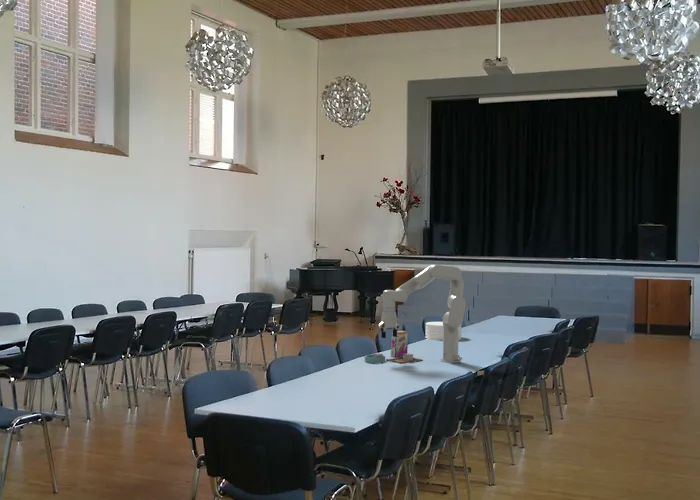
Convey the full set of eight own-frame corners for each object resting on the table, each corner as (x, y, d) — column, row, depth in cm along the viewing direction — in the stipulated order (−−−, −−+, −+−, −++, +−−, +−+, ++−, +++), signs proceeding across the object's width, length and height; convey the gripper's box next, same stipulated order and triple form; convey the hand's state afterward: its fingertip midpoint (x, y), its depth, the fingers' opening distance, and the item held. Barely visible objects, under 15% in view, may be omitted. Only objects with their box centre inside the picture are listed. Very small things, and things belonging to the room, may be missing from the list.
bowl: (388, 362, 469) (389, 356, 469) (374, 363, 461) (374, 358, 461) (375, 359, 479) (375, 353, 479) (360, 361, 471) (360, 355, 471)
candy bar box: (395, 357, 486) (396, 332, 486) (390, 356, 490) (390, 331, 490) (408, 356, 494) (408, 331, 493) (402, 355, 497) (403, 330, 497)
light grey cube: (382, 361, 468) (382, 354, 468) (377, 362, 465) (377, 354, 465) (378, 360, 471) (378, 353, 471) (372, 361, 468) (372, 353, 468)
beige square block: (413, 361, 470) (413, 354, 470) (408, 362, 467) (408, 354, 467) (408, 360, 473) (408, 353, 473) (403, 361, 470) (403, 353, 470)
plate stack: (442, 335, 607) (442, 320, 607) (468, 338, 586) (469, 324, 586) (417, 337, 589) (418, 323, 589) (444, 341, 568) (444, 326, 568)
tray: (422, 361, 473) (422, 359, 473) (401, 364, 461) (401, 362, 461) (406, 358, 484) (406, 356, 484) (386, 361, 472) (386, 359, 472)
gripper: (395, 308, 477) (395, 335, 477) (374, 310, 466) (374, 337, 466) (403, 309, 471) (403, 336, 471) (383, 311, 460) (383, 339, 460)
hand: (389, 337), depth 469 cm, fingers open, 9 cm apart
